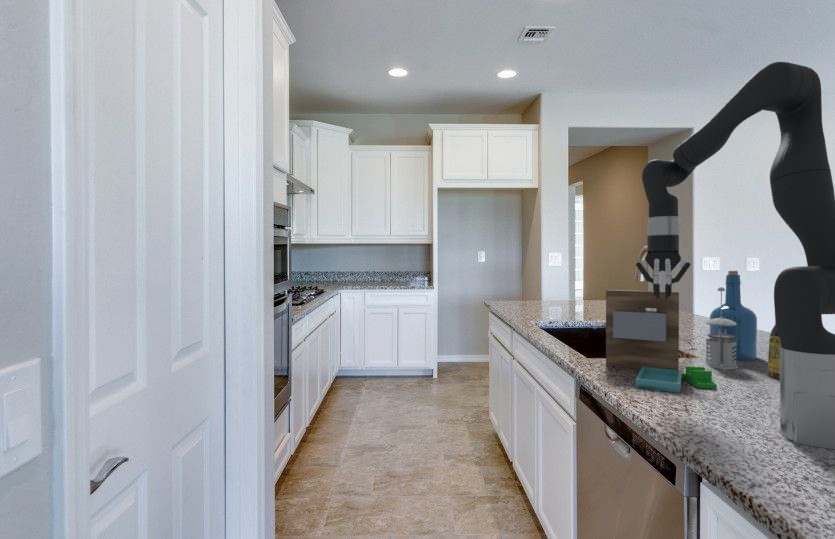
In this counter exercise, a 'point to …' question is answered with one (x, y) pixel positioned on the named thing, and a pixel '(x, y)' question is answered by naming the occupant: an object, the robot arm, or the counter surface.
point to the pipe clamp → (699, 377)
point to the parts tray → (659, 379)
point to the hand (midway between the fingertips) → (662, 297)
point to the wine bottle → (737, 320)
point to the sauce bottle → (774, 354)
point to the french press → (721, 344)
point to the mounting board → (643, 351)
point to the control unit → (640, 324)
